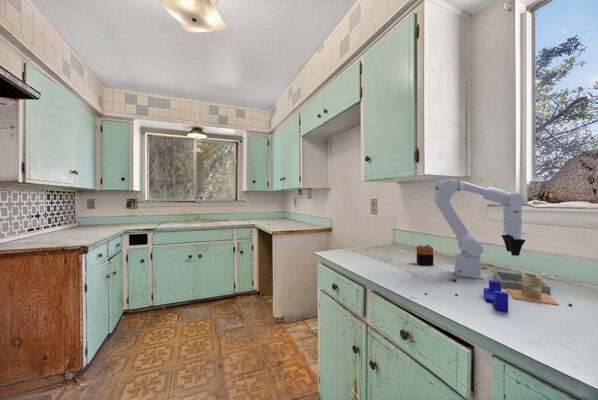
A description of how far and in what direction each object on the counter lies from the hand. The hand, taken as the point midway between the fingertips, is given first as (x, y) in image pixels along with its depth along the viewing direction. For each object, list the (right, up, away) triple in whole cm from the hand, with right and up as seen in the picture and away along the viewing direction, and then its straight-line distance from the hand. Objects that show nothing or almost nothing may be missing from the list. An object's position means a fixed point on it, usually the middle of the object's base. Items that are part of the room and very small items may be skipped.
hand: (512, 253), depth 101 cm
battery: (-26, -11, +22) cm, 35 cm away
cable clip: (-26, -12, -22) cm, 36 cm away
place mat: (-10, -11, -18) cm, 23 cm away
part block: (-10, -11, -18) cm, 23 cm away
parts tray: (-4, -11, -7) cm, 13 cm away
